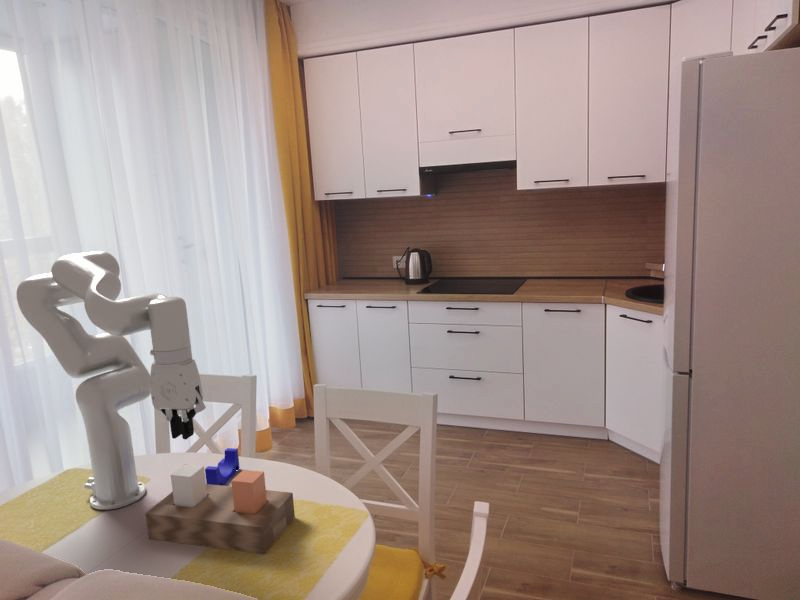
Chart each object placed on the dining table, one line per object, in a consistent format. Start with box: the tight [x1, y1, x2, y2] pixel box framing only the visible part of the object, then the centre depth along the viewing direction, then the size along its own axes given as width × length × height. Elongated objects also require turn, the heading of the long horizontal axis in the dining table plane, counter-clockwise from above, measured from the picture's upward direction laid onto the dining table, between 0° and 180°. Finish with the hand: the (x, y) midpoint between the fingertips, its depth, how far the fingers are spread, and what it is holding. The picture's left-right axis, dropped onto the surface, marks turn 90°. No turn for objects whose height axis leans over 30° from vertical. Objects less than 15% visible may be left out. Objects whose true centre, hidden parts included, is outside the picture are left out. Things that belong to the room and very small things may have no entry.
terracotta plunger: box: [231, 469, 267, 515], centre depth 127 cm, size 5×5×8 cm
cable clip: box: [204, 447, 240, 486], centre depth 153 cm, size 12×4×6 cm, turn 170°
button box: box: [144, 483, 296, 555], centre depth 130 cm, size 28×14×6 cm, turn 74°
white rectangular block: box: [170, 464, 207, 508], centre depth 131 cm, size 5×5×8 cm
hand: (183, 435), depth 129 cm, fingers closed
